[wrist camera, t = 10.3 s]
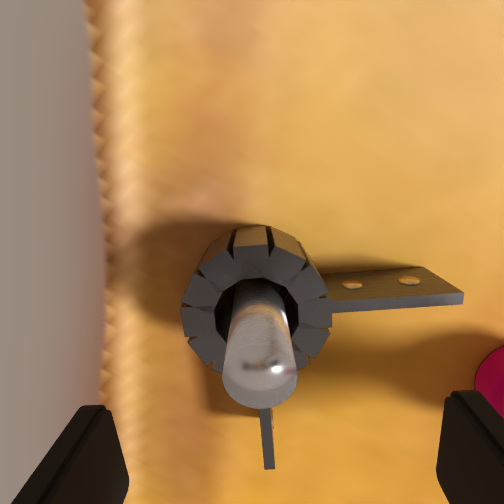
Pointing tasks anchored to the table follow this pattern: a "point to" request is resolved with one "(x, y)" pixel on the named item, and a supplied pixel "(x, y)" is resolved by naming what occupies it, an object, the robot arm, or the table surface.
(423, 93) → the table surface
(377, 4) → the table surface
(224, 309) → the hinge
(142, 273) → the table surface
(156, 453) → the table surface
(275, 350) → the hinge pin
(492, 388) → the pepper mill
